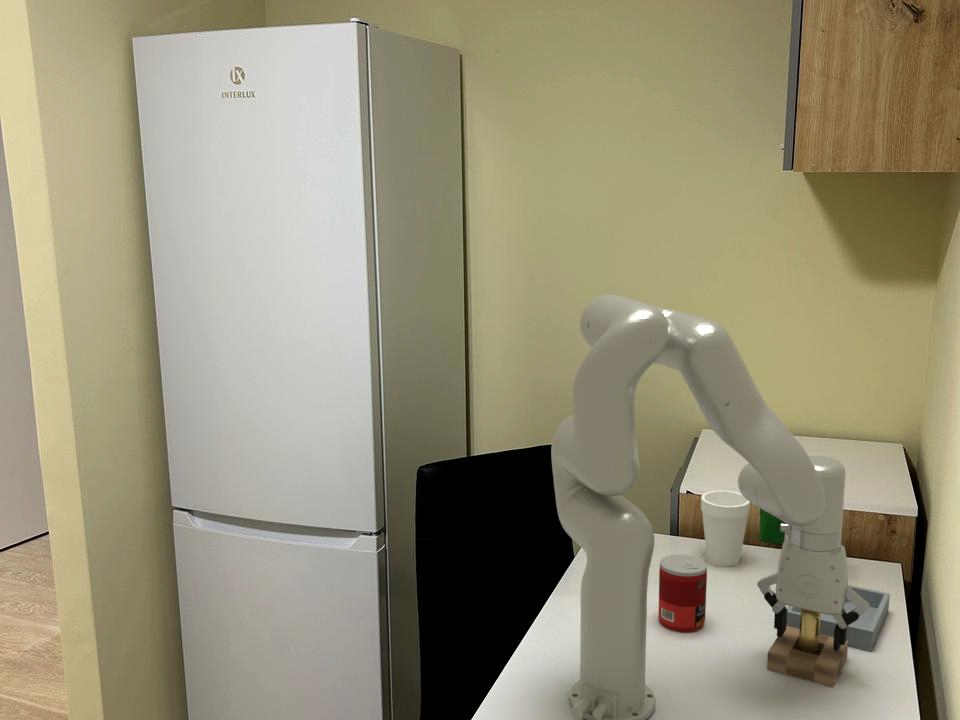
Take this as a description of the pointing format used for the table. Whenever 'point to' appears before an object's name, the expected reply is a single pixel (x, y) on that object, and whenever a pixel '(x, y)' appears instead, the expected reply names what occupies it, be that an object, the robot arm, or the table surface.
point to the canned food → (682, 592)
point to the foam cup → (724, 525)
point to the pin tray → (862, 629)
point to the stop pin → (809, 631)
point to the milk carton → (770, 528)
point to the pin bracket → (807, 658)
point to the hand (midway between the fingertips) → (809, 639)
